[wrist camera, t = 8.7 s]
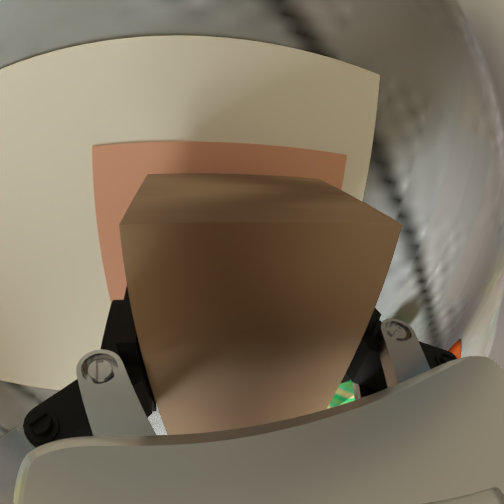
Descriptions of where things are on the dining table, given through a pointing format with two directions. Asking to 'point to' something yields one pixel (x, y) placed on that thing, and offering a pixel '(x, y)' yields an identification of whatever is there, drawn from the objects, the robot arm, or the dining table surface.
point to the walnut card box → (249, 293)
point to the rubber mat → (145, 164)
